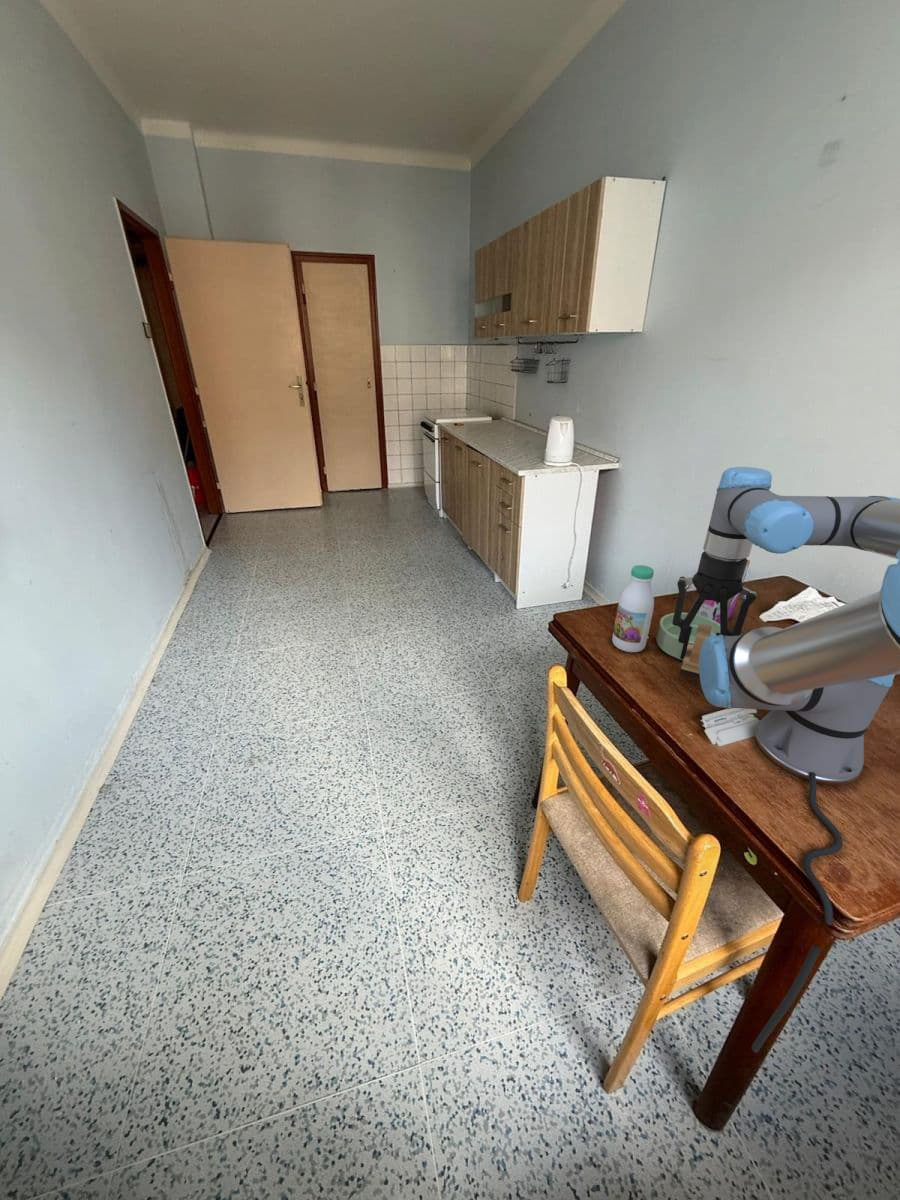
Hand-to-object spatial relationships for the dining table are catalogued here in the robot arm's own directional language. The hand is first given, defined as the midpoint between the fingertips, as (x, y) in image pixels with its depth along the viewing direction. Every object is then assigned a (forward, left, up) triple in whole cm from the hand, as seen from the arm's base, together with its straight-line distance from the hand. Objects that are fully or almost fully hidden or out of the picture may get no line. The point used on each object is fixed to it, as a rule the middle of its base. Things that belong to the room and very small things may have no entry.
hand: (696, 659), depth 97 cm
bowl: (+14, +2, -6) cm, 16 cm away
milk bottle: (+9, +15, -6) cm, 18 cm away
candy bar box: (+31, -2, -6) cm, 32 cm away
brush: (0, 0, -2) cm, 2 cm away
